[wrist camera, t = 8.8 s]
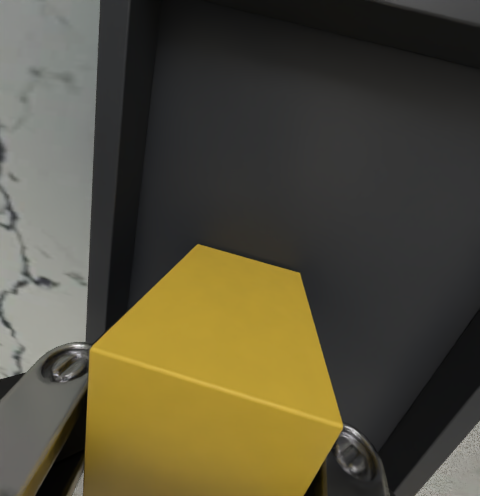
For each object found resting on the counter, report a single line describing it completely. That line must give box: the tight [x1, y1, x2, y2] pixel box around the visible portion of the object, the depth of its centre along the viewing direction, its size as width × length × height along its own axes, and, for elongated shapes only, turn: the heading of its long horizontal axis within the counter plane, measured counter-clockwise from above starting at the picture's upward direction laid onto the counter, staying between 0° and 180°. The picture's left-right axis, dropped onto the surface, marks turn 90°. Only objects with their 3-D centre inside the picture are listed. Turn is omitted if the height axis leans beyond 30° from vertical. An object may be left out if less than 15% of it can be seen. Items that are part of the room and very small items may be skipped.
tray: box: [86, 0, 480, 496], centre depth 9 cm, size 20×15×2 cm
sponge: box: [83, 244, 343, 496], centre depth 7 cm, size 4×6×6 cm, turn 166°
